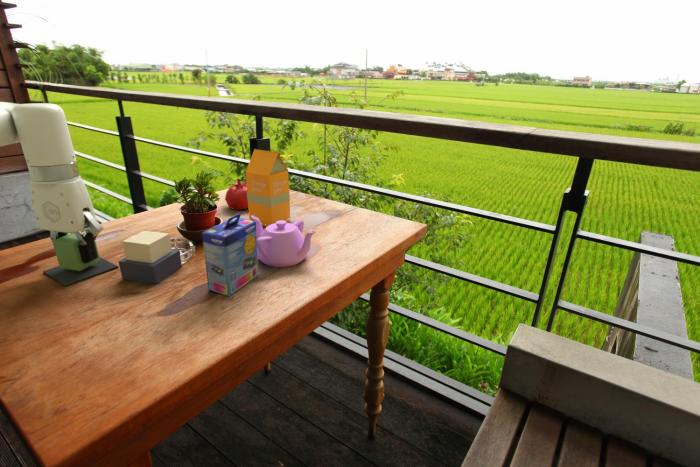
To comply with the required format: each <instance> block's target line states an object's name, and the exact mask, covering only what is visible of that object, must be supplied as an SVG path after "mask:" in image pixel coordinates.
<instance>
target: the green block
mask: <svg viewBox="0 0 700 467" xmlns="http://www.w3.org/2000/svg"><path fill="white" fill-rule="evenodd" d="M82 234H83V236H84V237H85V235H86V232H85V233H83V232H82ZM51 243H52V246H53V249H54V253H55V256H56V259H57V263H58V266H60V268H64V269H70V270H77V271H81V270H83V269H85V268H87V267H89V266H91V265H93V264H95V263H96V262H98V261H100V257H101V256H100V254H99V250H98V246H97V242H96V240H95V241H94V243H95V247H96V251H97V255H98V258H96V259H94V260H92V261H90V262H88V263H83V262H82V258H81V255H80V251H79V247H78V246H79V245H81V244H80V243H79V241H78V239H77V237H76V235H75V233H68V235H66V236H64V237H61V238H59V239H56V240H54V241H52V240H51Z"/></svg>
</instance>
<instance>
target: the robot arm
mask: <svg viewBox="0 0 700 467" xmlns="http://www.w3.org/2000/svg"><path fill="white" fill-rule="evenodd" d="M18 143H20V146H21V149H22V152H23V155H24V156H23V157H24V159H25V162H26V165H27V169H28V173H29V175H30V180H29V193H30V198H31V203H32V209H33V213H34V217H35V220H36V224H37V226H38V227H39V228H40V229H41V230H44V231H45V232H46V234H48V236H50V241H51V242H52V241H54V240H56V239H59V238H61V237H64V236H66V235H68V234H71V233H75V235H76V237H77V239H78V241H79V243H80V244H81V245H79V246H78V247H79V251H80V255H81V258H82V262H83V263H88V262H90V261H92V260H94V259H96V258H98V255H97V251H96V247H95V243H94V241H95V242H96V240H97V237H98V236H99V234H100V233H101V232H102V231H104V227H103V226H102V225H101V224H100V223H99V221H98V220H97V217H96V212H95V208H94V205H93V202H92V199H91V197H90V194H89V193H90V192H89V190H88V189H87V186H86V184H85V182H84V180H83V178H82V177H81V173H80V169H79V164H78V161H77V157H76V153H75V150H74V145H73V141H72V137H71V133H70V129H69V126H68V121H67V118H66V114H65V111H64V109H63V107H61V106H60V105H58V104H56V103H49V102H41V103H40V102H35V103H34V102H32V103H31V102H30V103H15V102H7V101H0V148H1V147H5V146H9V145H13V144H18ZM83 232H85V234H86V235H85V237H84V236H83V234H82V233H83Z"/></svg>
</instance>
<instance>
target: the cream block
mask: <svg viewBox="0 0 700 467" xmlns="http://www.w3.org/2000/svg"><path fill="white" fill-rule="evenodd" d="M122 246H123V250H124V256H125V257H126V260H132V261H139V262H146V263H154V262H155V261H157V260H159V259H160V258H162V257H163V256H165V255H167V254H168V253H170V252H172V249H173V248H172V242H171V235H170V233H168V232H159V231H153V230H152V231H150V230H142V231H141V232H139V233H136V234H135V235H132V236H130V237H128V238H126V239H124V240H122Z"/></svg>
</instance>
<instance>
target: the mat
mask: <svg viewBox="0 0 700 467" xmlns="http://www.w3.org/2000/svg"><path fill="white" fill-rule="evenodd" d="M99 257H100V261H98V262H96V263H95V264H93V265H91V266H89V267H87V268H85V269H83V270H81V271H77V270H70V269H64V268H60V266H59V265H58V266H55V267H51V268H48V269H45V270H43V271H42V273H43V274H44V275H46V276H48V277H49V278H51V279H52V280H54V281H55V282H57V283H59V284H60V285H62V286H63V287H66V288H67V287H69V286H72V285H75V284H78V283H81V282H83V281H86V280H88V279H92V278H94V277H97V276H99V275H102V274H105V273H108V272H111V271H113V270H116V269H119V265H117V264H114V263H112V262H111V261H109V260H107V259H105V258H103V257H101V256H99Z"/></svg>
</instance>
